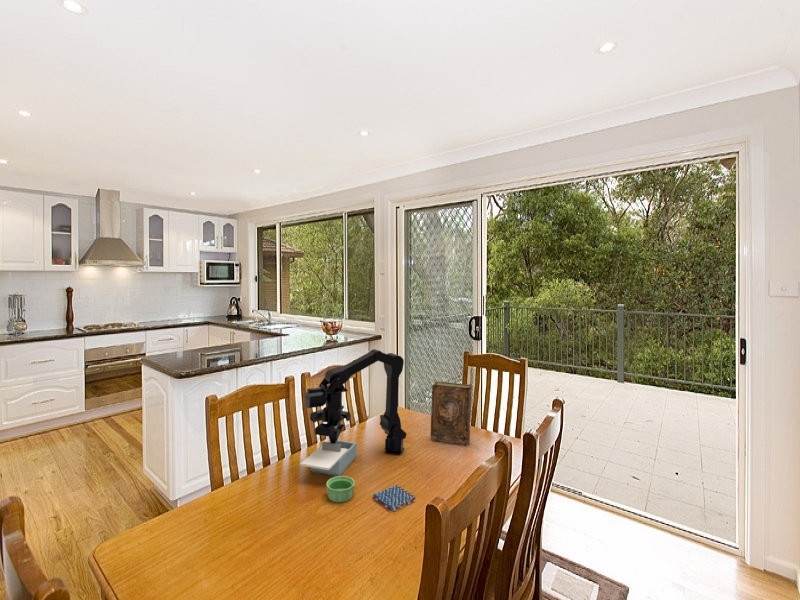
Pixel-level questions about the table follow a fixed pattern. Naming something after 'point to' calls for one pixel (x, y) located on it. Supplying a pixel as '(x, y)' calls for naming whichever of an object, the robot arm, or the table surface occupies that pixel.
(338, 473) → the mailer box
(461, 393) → the book
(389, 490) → the woven mat
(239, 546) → the table surface
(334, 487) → the ramekin
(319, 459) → the lid
